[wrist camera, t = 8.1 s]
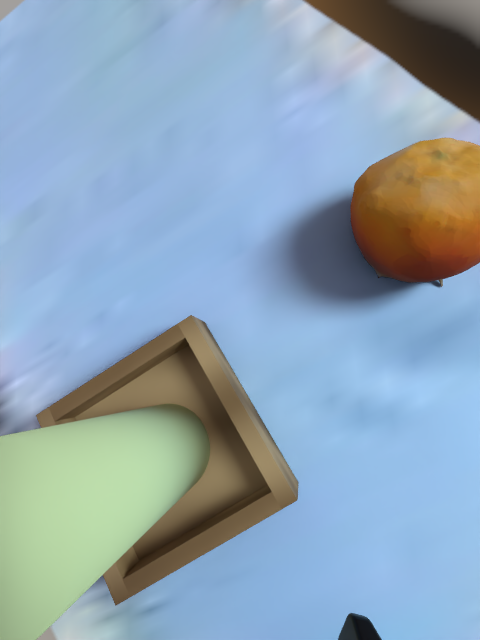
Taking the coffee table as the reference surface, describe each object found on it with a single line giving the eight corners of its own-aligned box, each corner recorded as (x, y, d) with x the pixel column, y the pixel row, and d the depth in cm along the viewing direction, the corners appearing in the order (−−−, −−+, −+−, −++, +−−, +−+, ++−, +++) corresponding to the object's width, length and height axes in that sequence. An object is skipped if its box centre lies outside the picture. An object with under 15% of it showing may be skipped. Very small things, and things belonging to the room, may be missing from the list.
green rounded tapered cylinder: (226, 466, 21) (109, 598, 9) (152, 511, 22) (-63, 699, 9) (183, 387, 23) (28, 402, 10) (114, 430, 23) (-119, 498, 10)
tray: (298, 482, 21) (297, 500, 18) (140, 575, 22) (115, 605, 19) (204, 322, 24) (190, 315, 21) (67, 410, 25) (36, 415, 22)
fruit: (349, 321, 21) (366, 203, 15) (339, 240, 26) (350, 127, 20) (497, 320, 19) (585, 189, 13) (457, 235, 24) (507, 111, 18)
